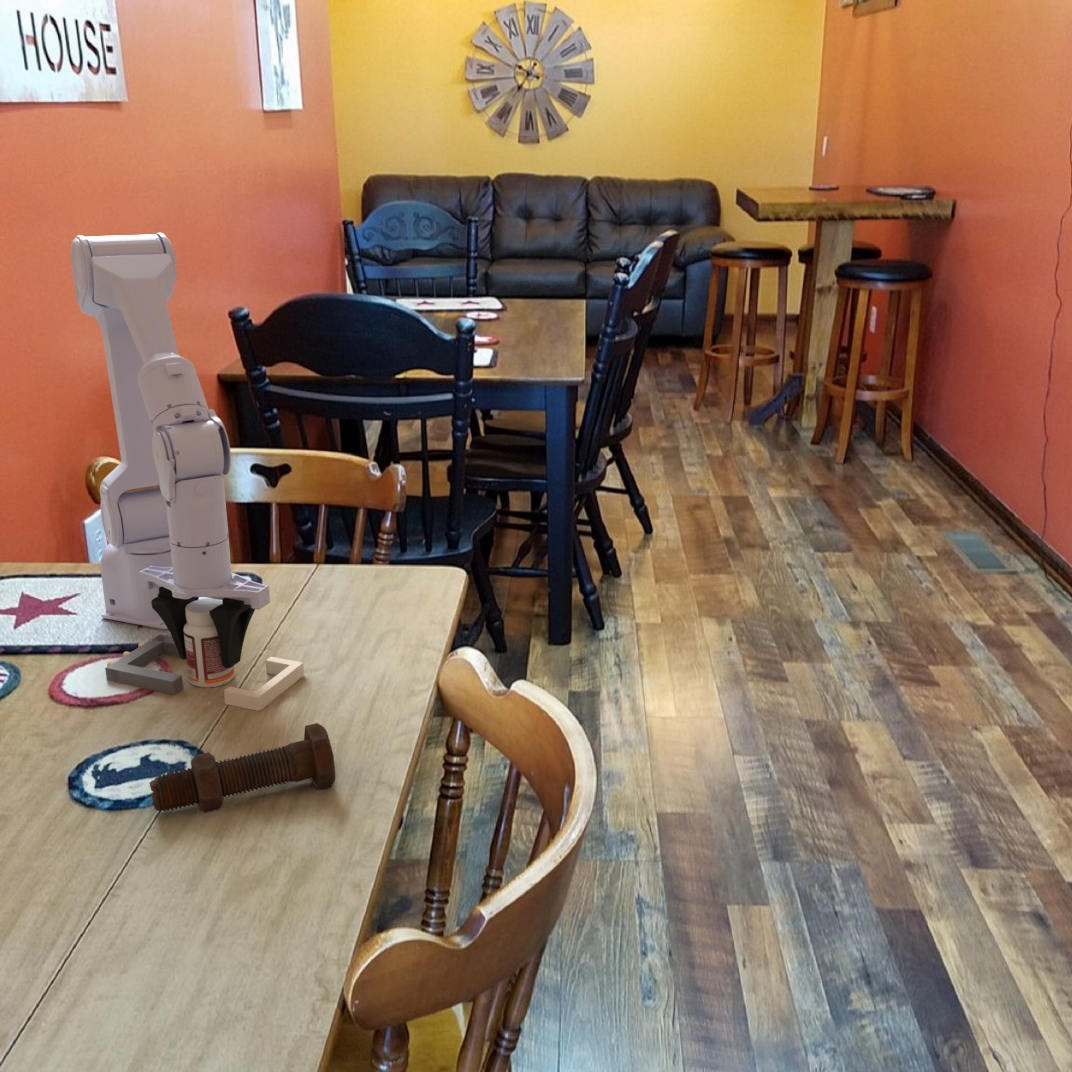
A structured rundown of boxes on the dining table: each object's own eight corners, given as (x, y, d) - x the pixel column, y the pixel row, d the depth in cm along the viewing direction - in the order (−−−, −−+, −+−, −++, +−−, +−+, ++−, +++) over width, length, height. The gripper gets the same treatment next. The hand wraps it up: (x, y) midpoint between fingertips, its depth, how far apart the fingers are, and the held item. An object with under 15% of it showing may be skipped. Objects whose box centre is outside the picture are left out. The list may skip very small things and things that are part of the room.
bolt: (156, 829, 96) (329, 786, 102) (158, 832, 92) (340, 787, 97) (145, 761, 97) (317, 723, 103) (146, 760, 92) (326, 720, 98)
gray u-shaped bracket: (97, 678, 118) (95, 665, 118) (152, 644, 126) (151, 632, 126) (174, 694, 115) (172, 681, 115) (225, 658, 123) (224, 646, 123)
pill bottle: (241, 669, 121) (236, 598, 118) (225, 690, 116) (219, 616, 113) (198, 666, 121) (192, 595, 118) (180, 687, 117) (173, 613, 114)
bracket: (225, 704, 113) (223, 690, 113) (271, 669, 121) (270, 656, 120) (259, 711, 112) (258, 697, 112) (303, 675, 120) (303, 662, 119)
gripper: (113, 541, 112) (128, 663, 117) (237, 561, 107) (247, 688, 112) (159, 520, 118) (171, 637, 123) (277, 538, 114) (285, 659, 118)
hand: (210, 659), depth 118 cm, fingers open, 5 cm apart
